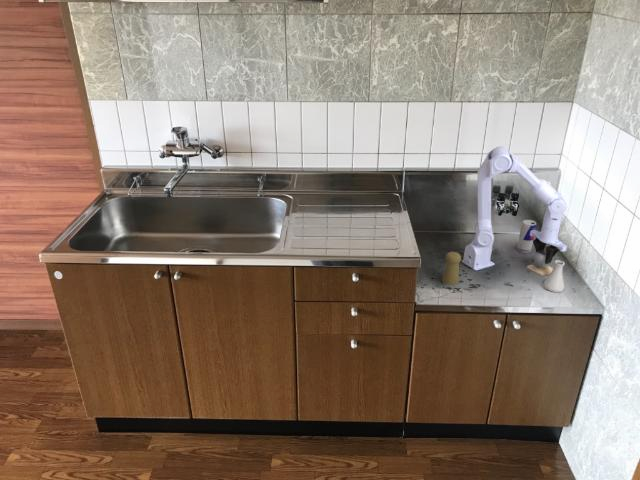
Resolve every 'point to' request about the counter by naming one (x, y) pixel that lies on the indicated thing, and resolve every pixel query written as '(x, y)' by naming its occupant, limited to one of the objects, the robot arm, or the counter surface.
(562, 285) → the flask
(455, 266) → the pepper shaker
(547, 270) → the coaster
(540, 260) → the plug
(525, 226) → the energy drink
